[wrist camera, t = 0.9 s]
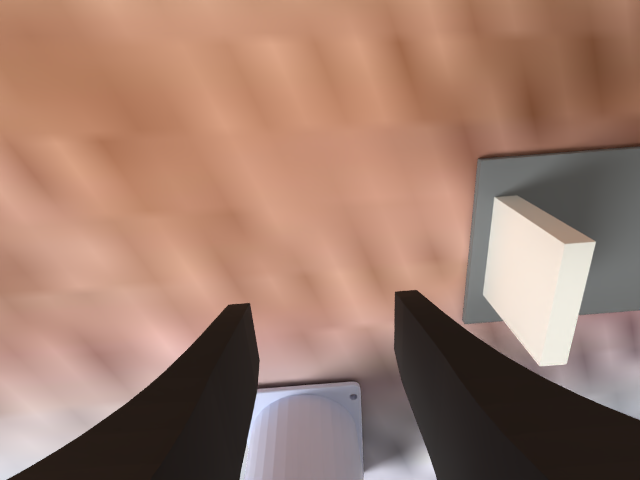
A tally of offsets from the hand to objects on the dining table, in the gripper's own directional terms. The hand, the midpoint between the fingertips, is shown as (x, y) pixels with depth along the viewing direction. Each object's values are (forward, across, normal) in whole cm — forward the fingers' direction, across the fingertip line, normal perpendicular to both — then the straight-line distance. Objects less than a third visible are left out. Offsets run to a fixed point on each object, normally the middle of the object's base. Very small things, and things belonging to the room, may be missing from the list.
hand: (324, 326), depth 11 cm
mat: (+10, -15, +3) cm, 18 cm away
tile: (+10, -10, +3) cm, 14 cm away
